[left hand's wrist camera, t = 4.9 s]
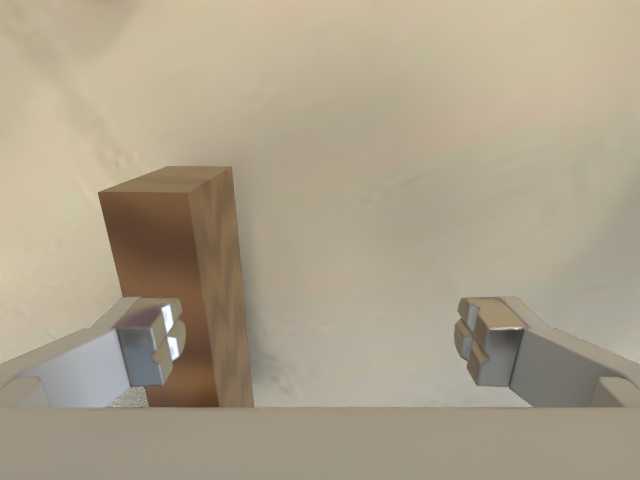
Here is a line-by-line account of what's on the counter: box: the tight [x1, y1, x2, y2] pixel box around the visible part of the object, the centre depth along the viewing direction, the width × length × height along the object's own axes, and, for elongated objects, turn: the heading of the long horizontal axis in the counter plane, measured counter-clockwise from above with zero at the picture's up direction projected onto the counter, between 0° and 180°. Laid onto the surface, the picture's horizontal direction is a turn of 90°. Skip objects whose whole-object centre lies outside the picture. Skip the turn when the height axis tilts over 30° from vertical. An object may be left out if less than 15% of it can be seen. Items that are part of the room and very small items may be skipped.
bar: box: [98, 166, 254, 407], centre depth 27 cm, size 28×5×8 cm, turn 0°
